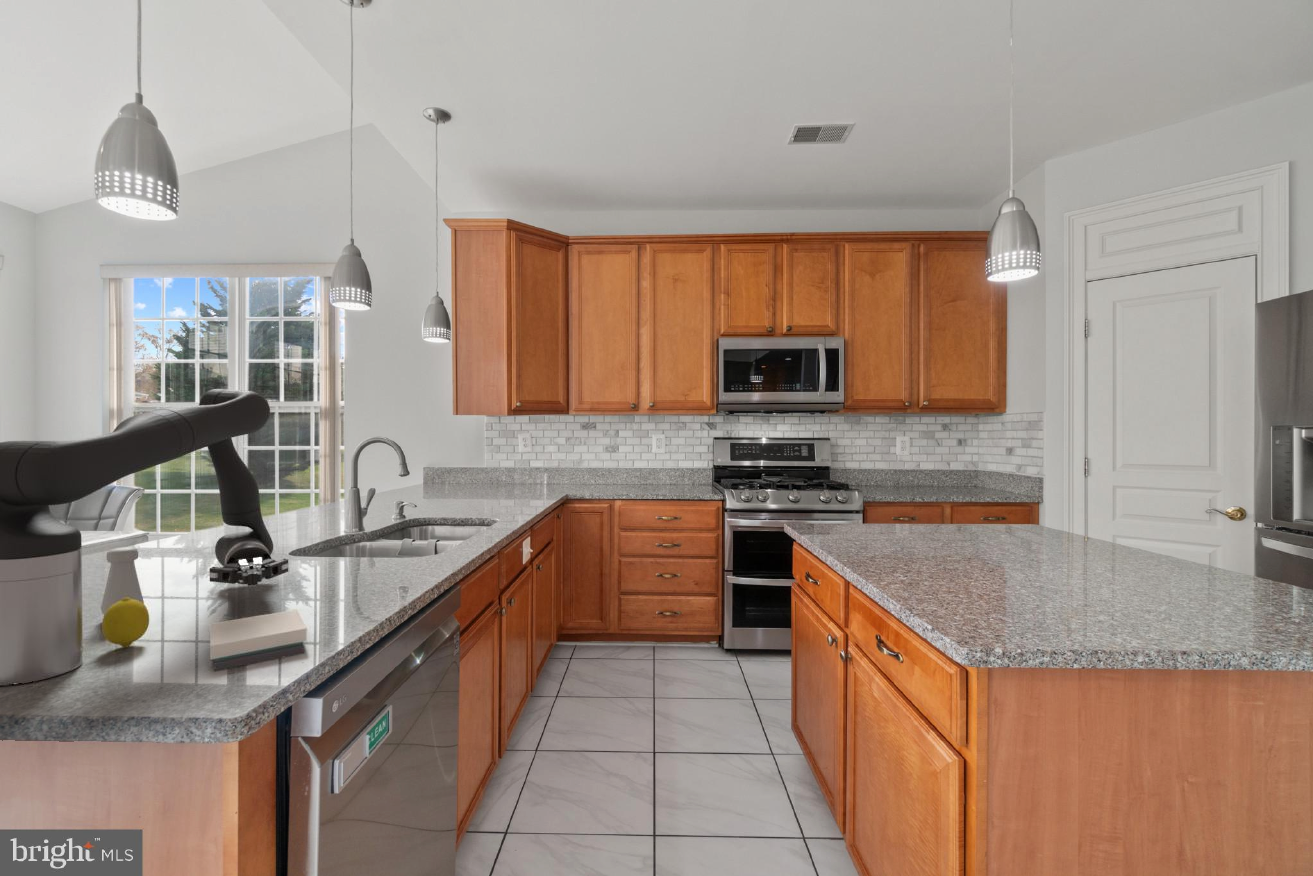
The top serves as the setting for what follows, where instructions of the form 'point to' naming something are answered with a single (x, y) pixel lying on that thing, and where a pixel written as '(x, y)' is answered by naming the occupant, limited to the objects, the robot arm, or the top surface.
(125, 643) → the lemon
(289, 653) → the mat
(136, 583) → the salt shaker
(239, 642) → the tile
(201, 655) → the top surface
